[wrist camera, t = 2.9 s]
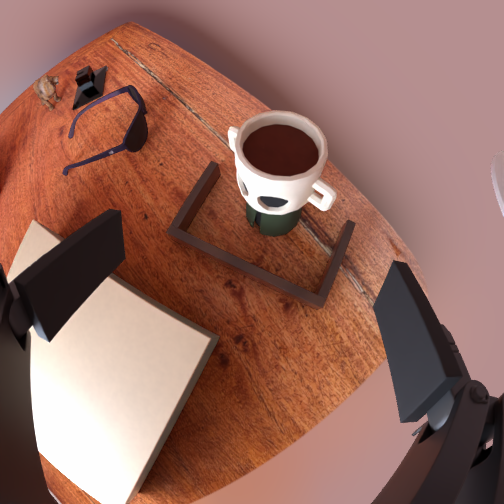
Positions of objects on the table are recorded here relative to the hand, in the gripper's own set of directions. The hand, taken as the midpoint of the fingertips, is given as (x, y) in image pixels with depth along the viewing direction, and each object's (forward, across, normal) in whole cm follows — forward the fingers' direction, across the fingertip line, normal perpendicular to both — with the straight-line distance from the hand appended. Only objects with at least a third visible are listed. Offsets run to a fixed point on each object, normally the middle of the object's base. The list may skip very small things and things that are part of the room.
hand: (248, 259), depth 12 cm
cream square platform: (+2, -19, -22) cm, 29 cm away
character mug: (+19, 0, -5) cm, 20 cm away
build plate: (+36, -41, +12) cm, 56 cm away
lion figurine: (+35, -52, +10) cm, 63 cm away
